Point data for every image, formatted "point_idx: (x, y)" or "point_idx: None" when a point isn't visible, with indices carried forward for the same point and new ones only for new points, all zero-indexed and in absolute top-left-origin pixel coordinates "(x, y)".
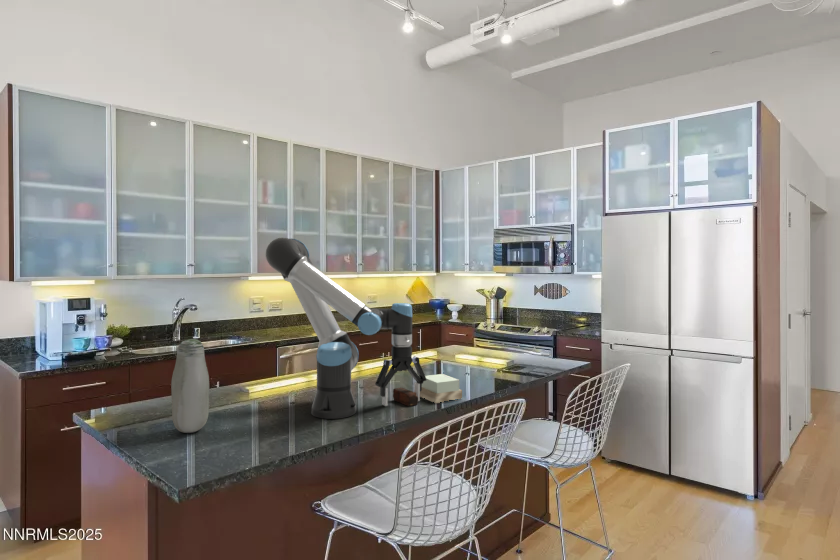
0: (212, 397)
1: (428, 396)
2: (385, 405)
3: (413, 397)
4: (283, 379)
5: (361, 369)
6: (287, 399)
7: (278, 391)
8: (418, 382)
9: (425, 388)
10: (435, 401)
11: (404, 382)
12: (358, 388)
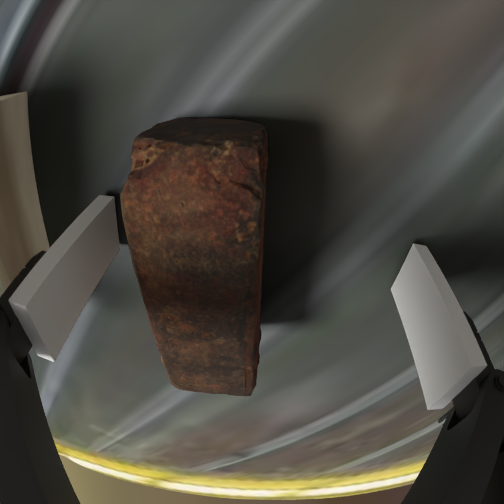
0: None
1: (19, 204)
2: (427, 251)
3: (202, 136)
4: (339, 493)
5: (152, 479)
6: None
7: (422, 465)
8: (16, 329)
9: (4, 290)
10: (17, 96)
11: (79, 415)
12: (258, 454)
